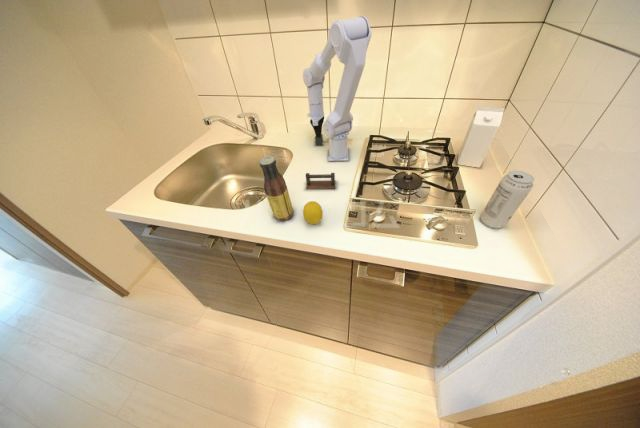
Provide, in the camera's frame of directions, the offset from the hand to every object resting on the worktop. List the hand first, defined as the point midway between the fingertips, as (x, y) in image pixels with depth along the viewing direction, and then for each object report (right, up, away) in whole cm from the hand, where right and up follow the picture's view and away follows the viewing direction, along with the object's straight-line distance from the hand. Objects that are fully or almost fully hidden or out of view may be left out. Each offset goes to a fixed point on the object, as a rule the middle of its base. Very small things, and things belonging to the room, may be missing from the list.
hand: (318, 135), depth 100 cm
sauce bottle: (-11, -35, -29) cm, 47 cm away
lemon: (-1, -38, -33) cm, 50 cm away
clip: (0, -3, +3) cm, 4 cm away
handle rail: (+1, -25, -20) cm, 32 cm away
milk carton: (+55, -16, -16) cm, 60 cm away
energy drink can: (+48, -37, -38) cm, 71 cm away
